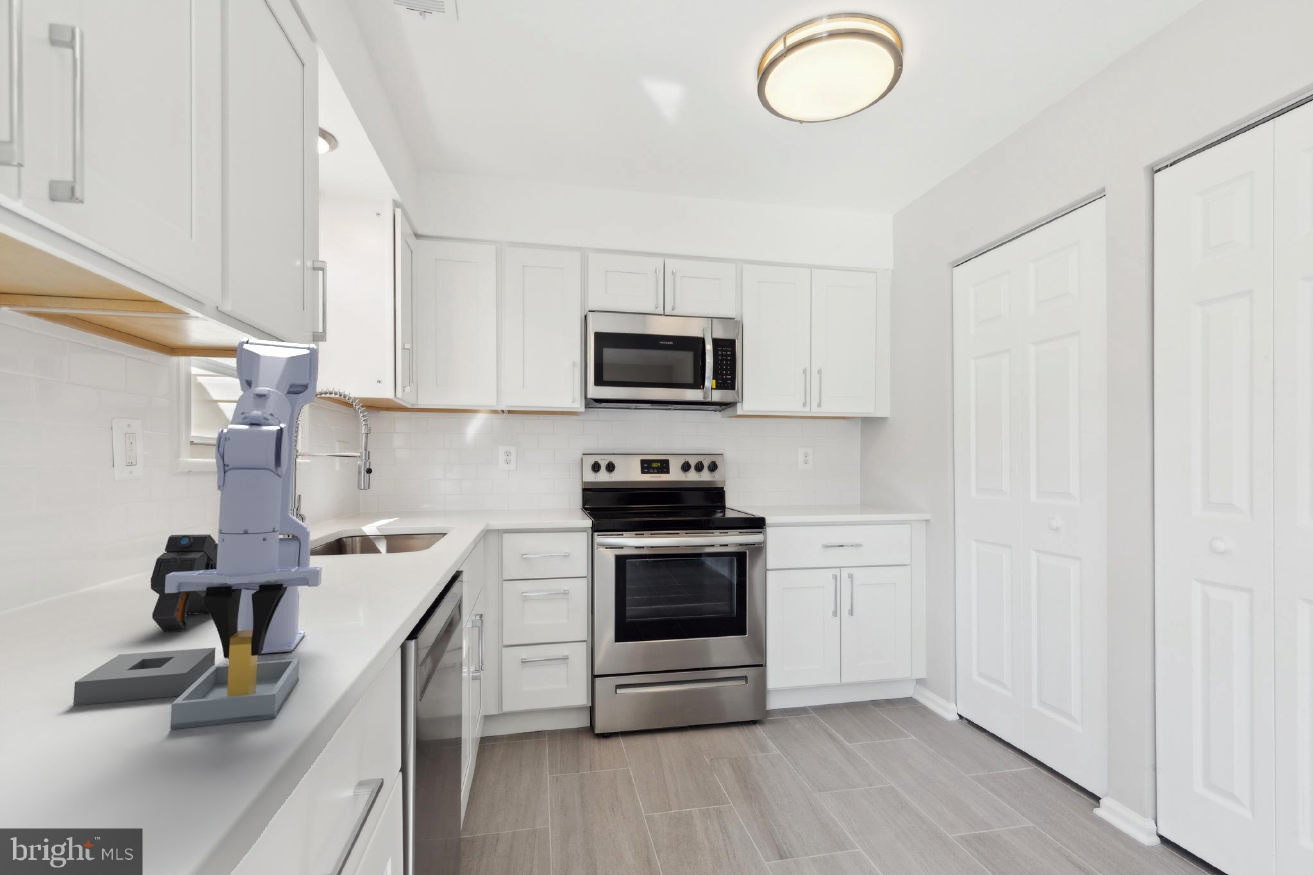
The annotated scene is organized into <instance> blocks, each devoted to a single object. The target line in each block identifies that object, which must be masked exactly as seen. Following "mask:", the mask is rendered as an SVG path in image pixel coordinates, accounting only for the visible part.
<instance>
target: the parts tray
mask: <svg viewBox="0 0 1313 875" xmlns="http://www.w3.org/2000/svg"><path fill="white" fill-rule="evenodd" d="M228 669H229V663H228V664H217V665H215V666H212V667H211V668H210V669H209V670H208V671H207V672H205V673H204V674H203V675H202V676H201V677H200V678H199V679H198V680H197V681H196V682H195V683H194V684H193V685H191V686H190V687H189V688H188V689H187V690H186V691H185V692H184V693H183V694H182V695H181V696H177V697H176V699H175V700H174V701H173V702H172V703H171V706H170V707H171V708H170V709H171V711H170V724H169V725H170V727H169V729H170V730H176V729H188V728H189V729H190V728H197V727H198V728H199V727H206V726H215V725H223V724H233V723H243V722H250V721H251V722H252V721H260V720H271V719H276V717H277V715H278V713H279V711H281V709H282V707H283V705H284V704H285V702H286V700H287V699H288V697H289V696H290V694H291V692H292V691H293V689H294V688H295V685H297V682H298V681H299V680H300V679H299V678H300V658H295V659H294V658H293V659H281V660H267V661H257V676H256V692H255V693H254V694H250V695H239V696H228V697H227V688H228Z"/></svg>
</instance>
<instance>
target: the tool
mask: <svg viewBox="0 0 1313 875" xmlns="http://www.w3.org/2000/svg"><path fill="white" fill-rule="evenodd" d="M164 547H165V548H164V552H163V553H162V554H161V555H159V556H158V557H157V558H156V560H155V564H154V566H153V571H152V574H151V577H150V590H152V591H153V592H154V593H156V594H158V598H157V600H156V602H155V605H154V608H153V611H152V613H151V614H152V615H151V618H152V620H153V621H154V623H155V624H156V625H157V626H158V627H159V628H160V630H161V632H178V631H179V632H180V630H184V631H186V629H187V625H188V620H187V618H186V616H187V615H190V614H189V613H208V614H209V612H208V611H207V609H206V608H205V606H204V605H203V601H202V598H203V597H204V596H205V593H206V590H198V591H179V592H177V593H165V581H166V575H168V574H170V573H173V572H188V571H202V570H214V569H217V551H218V542H217V541H216V540H215V538H213V536H212V535H211V534H206V533H205V534H171V535H169V536H168V539H167V542H166V545H165V546H164ZM225 584H227V583H225Z"/></svg>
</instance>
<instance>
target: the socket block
mask: <svg viewBox="0 0 1313 875" xmlns="http://www.w3.org/2000/svg"><path fill="white" fill-rule="evenodd" d="M215 663H216V647H206V648H205V647H204V648H192V649H176V650H165V651H164V650H162V651H151V652H150V651H149V652H135V653H134V652H133V653H123V654H118V655H116V656H115V657H113V658H112V659H110V660H108V661H107V662H105V663H103V664H101V665H100V666H99V667H97V668H95V669H94V670H92V671H90V672H89V673H87V674H86V675H84V676H82V677H81V678H79V679H78V680H76V681H74V690H73V702H72V704H73V707H74V706H83V705H93V704H103V703H114V702H115V703H116V702H117V703H118V702H127V701H138V700H145V699H146V700H148V699H150V700H151V699H159V698H168V697H169V698H170V697H171V698H172V697H180V696H181V695H182V694H183V693H184V692H185V691H186V690H187V689H188V688H189V687H190V686H191V685H193V684H194V683H195V682H196V681H197V680H198V679H199V678H200V677H201V676H202V675H203V674H204V673H205V672H207V671H208V670H209V669H210V668H211V667H212V666H216V665H215Z"/></svg>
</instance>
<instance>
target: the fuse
mask: <svg viewBox="0 0 1313 875" xmlns="http://www.w3.org/2000/svg"><path fill="white" fill-rule="evenodd" d="M252 632H253V630H241V631H237V632H236V633H235V634H234V635H233V636H232V637H231V638H230V649H229V658H228V664H229V669H228V688H227V697H228V696H239V695H250V694H254V693H255V692H256V676H257V662H258V655H256V656H252V651H251V641H252Z"/></svg>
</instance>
